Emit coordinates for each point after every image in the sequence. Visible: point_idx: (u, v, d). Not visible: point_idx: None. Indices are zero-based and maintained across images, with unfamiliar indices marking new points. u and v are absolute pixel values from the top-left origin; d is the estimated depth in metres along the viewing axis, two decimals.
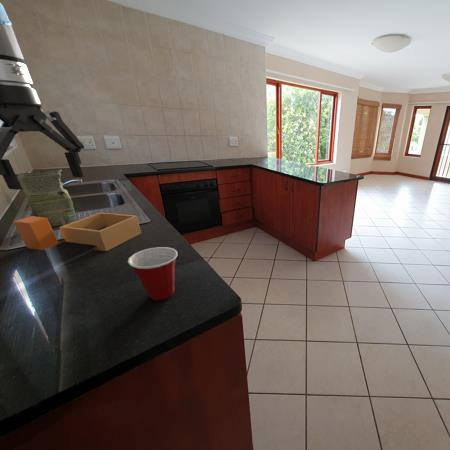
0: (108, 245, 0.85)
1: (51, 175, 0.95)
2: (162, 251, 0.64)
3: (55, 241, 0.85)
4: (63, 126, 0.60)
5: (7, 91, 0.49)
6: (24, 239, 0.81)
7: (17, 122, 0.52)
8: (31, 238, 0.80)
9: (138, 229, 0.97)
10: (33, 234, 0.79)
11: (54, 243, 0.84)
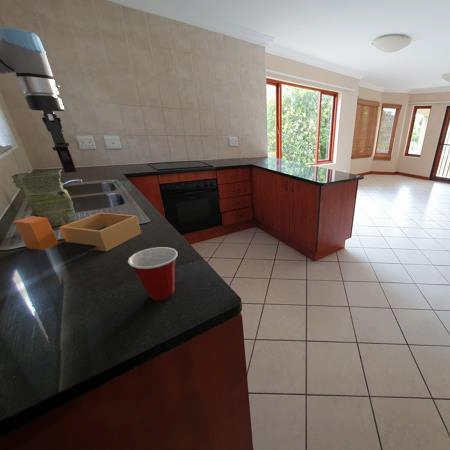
0: (108, 245, 0.85)
1: (51, 175, 0.95)
2: (162, 251, 0.64)
3: (55, 241, 0.85)
4: None
5: (57, 101, 0.70)
6: (24, 239, 0.81)
7: (60, 123, 0.72)
8: (31, 238, 0.80)
9: (138, 229, 0.97)
10: (33, 234, 0.79)
11: (54, 243, 0.84)
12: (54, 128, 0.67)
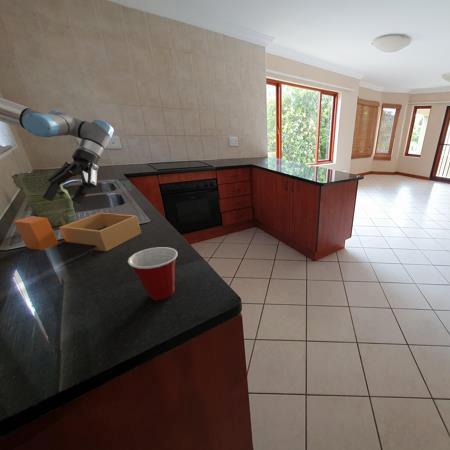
0: (108, 245, 0.85)
1: (51, 175, 0.95)
2: (162, 251, 0.64)
3: (55, 241, 0.85)
4: None
5: (97, 161, 0.97)
6: (24, 239, 0.81)
7: None
8: (31, 238, 0.80)
9: (138, 229, 0.97)
10: (33, 234, 0.79)
11: (54, 243, 0.84)
12: (94, 173, 0.91)
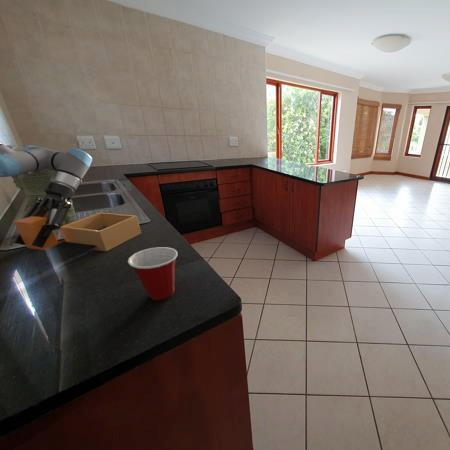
0: (108, 245, 0.85)
1: (51, 175, 0.95)
2: (162, 251, 0.64)
3: (55, 241, 0.85)
4: None
5: (73, 194, 0.90)
6: (24, 239, 0.81)
7: None
8: (31, 238, 0.80)
9: (138, 229, 0.97)
10: (33, 234, 0.79)
11: (54, 243, 0.84)
12: (62, 212, 0.83)
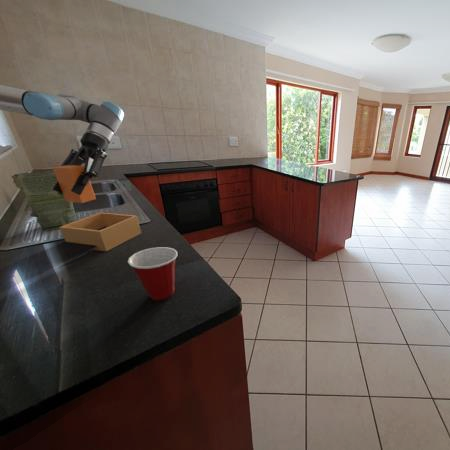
0: (108, 245, 0.85)
1: (51, 175, 0.95)
2: (162, 251, 0.64)
3: (91, 191, 0.85)
4: None
5: (107, 147, 0.90)
6: (62, 187, 0.81)
7: None
8: (70, 185, 0.80)
9: (138, 229, 0.97)
10: (72, 181, 0.79)
11: (90, 193, 0.85)
12: (99, 162, 0.84)
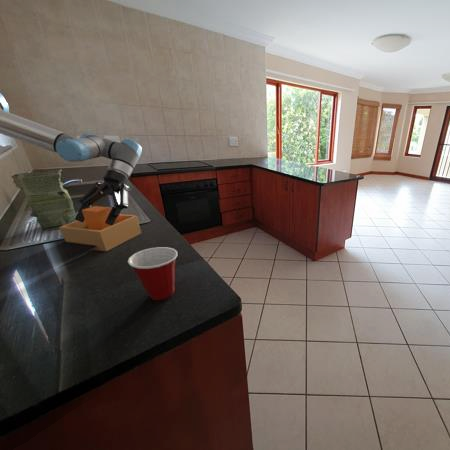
0: (108, 245, 0.85)
1: (51, 175, 0.95)
2: (162, 251, 0.64)
3: None
4: None
5: (127, 181, 0.97)
6: (89, 227, 0.89)
7: None
8: (97, 225, 0.88)
9: (138, 229, 0.97)
10: (99, 222, 0.87)
11: None
12: (125, 194, 0.91)
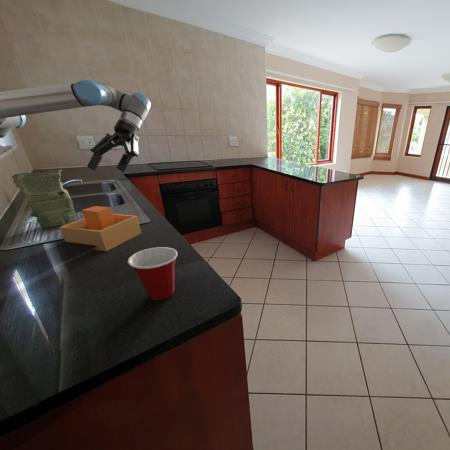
0: (108, 245, 0.85)
1: (51, 175, 0.95)
2: (162, 251, 0.64)
3: None
4: None
5: None
6: (89, 227, 0.89)
7: None
8: (97, 225, 0.88)
9: (138, 229, 0.97)
10: (99, 222, 0.87)
11: None
12: (135, 143, 0.93)
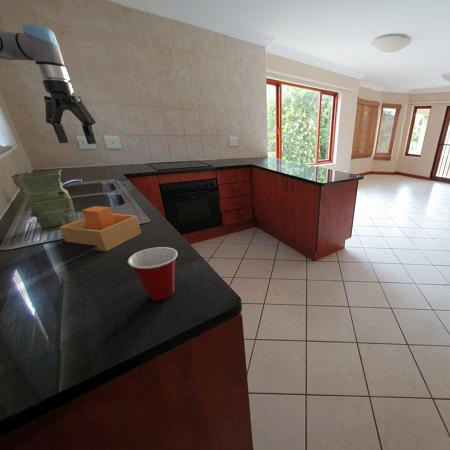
0: (108, 245, 0.85)
1: (51, 175, 0.95)
2: (162, 251, 0.64)
3: None
4: None
5: (71, 86, 0.87)
6: (89, 227, 0.89)
7: None
8: (97, 225, 0.88)
9: (138, 229, 0.97)
10: (99, 222, 0.87)
11: None
12: (83, 108, 0.86)
